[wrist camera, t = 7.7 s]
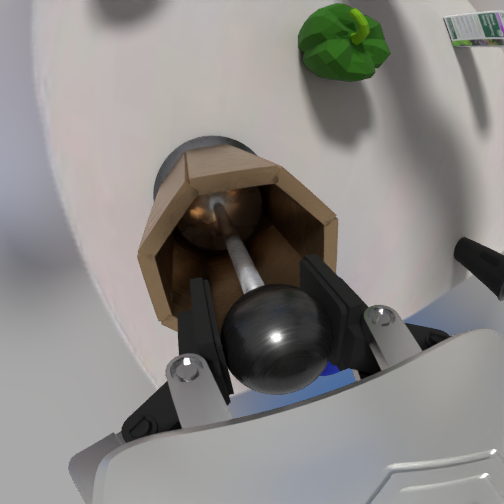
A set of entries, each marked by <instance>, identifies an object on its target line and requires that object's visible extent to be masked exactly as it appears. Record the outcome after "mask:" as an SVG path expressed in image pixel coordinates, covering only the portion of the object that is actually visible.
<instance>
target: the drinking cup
mask: <svg viewBox="0 0 504 504" xmlns="http://www.w3.org/2000/svg"><path fill="white" fill-rule="evenodd" d="M454 257H455V259H456V260H457V261H458V262H460V263H461V264H462V265H463V266H464V267H466V268H467V269H468V270H469V271H470V272H471V273H472V274H474V275H475V276H476V277H477V278H478V279H479V280H480V281H481V282H483V283H484V284H485V285H486V286H487V287H488V288H489V289H490V290H491V291H492V292H493V293H494V294H495V295H496V296H497V297H498V299H499V300H500V301H502V300H504V255H502V254H500V253H498V252H496V251H494V250H492V249H490V248H488V247H485V246H483V245H481V244H479V243H477V242H475V241H472V240H470V239H468V238H466V237H463V238H461V239H460V240H459V242H458V243H457V245H456V247H455V251H454Z"/></svg>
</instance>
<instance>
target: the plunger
mask: <svg viewBox="0 0 504 504" xmlns="http://www.w3.org/2000/svg"><path fill="white" fill-rule="evenodd" d="M261 213H262V197H261V194H260V190H259V188H258V186H252V187H246V188H239V189H233V190H227V191H221V192H215V193H209V194H204V195H198V196H196V198H195V199H194V200H193V202H192V203H191V205H190V206H189V207H188V209H187V210H186V212H185V213H184V214H183V216H182V217H181V219H180V220H179V222H178V223H177V226H178V228H179V230H180V231H181V233H182V234H183V235H184V237H185V238H186V239H188V240H189V241H190V242H191V243H193V244H195V245H197V246H199V247H201V248H205V249H210V250H222V249H227V250H228V253H229V255H230V258H231V261H232V263H233V266H234V269H235V271H236V274H237V277H238V279H239V282H240V284H241V287H242V290H243V292H244V295H242V296H241V297H240V298H239V299H238V300H237V301H236V302H235V303H234V304H233V305H232V306H231V308H230V309H229V311H228V313H227V314H226V316H225V319H224V321H223V324H222V328H221V335H220V339H221V343H222V348H223V352H224V356H225V360H226V364H227V367H228V369H229V370H230V372H231V373H232V374H233V375H234V377H235V378H236V379H237V380H239V381H240V382H241V383H242V384H244V385H245V386H247V387H248V388H250V389H252V390H255V391H257V392H260V393H264V394H272V395H282V394H288V393H292V392H295V391H298V390H301V389H302V388H305V387H306V386H308V385H309V384H311V383H312V382H313V381H314V380H316V379H317V378H318V376H320V374H321V373H322V372H323V370H324V369H325V368H326V366H327V364H328V362H329V360H330V357H331V355H332V350H333V345H334V332H333V326H332V323H331V320H330V317H329V315H328V313H327V311H326V310H325V308H324V306H323V305H322V304H321V303H320V302H319V301H318V300H317V298H315V297H314V296H313V295H311V294H310V293H309V292H307V291H305V290H303V289H301V288H299V287H296V286H293V285H288V284H280V283H277V284H268V285H264V283H263V281H262V279H261V277H260V275H259V273H258V271H257V269H256V267H255V265H254V263H253V261H252V259H251V258H250V256H249V254H248V252H247V250H246V248H245V246H244V244H243V241H244V240H245V239H247V238H248V237H249V236H250V235H251V234H252V233H253V231H254V230H255V228H256V227H257V225H258V223H259V220H260V217H261Z"/></svg>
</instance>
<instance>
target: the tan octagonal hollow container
mask: <svg viewBox="0 0 504 504" xmlns="http://www.w3.org/2000/svg"><path fill="white" fill-rule="evenodd" d="M252 186H258V188H259V190H260V194H261V197H262V213H261V217H260V220H259V223H258V225H257V227H256V228H255V230H254V231H253V233H252V234H251V235H250V236H249V237H248V238H247V239H245V240H244V241H243V244H244V246H245V248H246V250H247V252H248V254H249V256H250V258H251V259H252V261H253V263H254V265H255V267H256V269H257V271H258V273H259V275H260V277H261V279H262V281H263V283H264V285H268V284H277V283H280V284H288V285H293V286H296V287H299V288H300V266H299V263H300V260H303V257H304V256H308V255H312V254H317V255H318V256H319V257H320V258H321V259H322V260H323V261H324V262H325V263H326V264H327V265H328V266H329V267H330V268H331V269H332V271H333V272H334V273H335V274H336V262H337V238H338V219H337V218H336V214H335V213H334V212H333V211H331V210H330V209H329V208H328V207H327V206H326V205H325V204H324V203H323V202H322V201H321V200H320V199H318V198H317V197H316V196H315V195H314V194H313V193H312V192H311V191H310V190H308V189H307V188H306V187H305V186H304V185H303V184H302V183H301V182H299V181H298V180H297V179H296V178H295V177H294V176H292V175H291V174H290V173H289V172H288V171H287V170H285V169H284V168H283V167H282V166H279V165H277V164H275V163H272V162H270V161H268V160H266V159H263V158H261V157H258V156H257V155H256V154H255V153H254V152H253V151H252V150H251V149H250V148H248V147H247V146H246V145H244V144H242V143H240V142H238V141H236V140H233V139H230V138H227V137H222V136H203V137H198V138H195V139H192V140H189V141H187V142H185V143H184V144H182V145H180V146H179V147H178V148H176V149H175V150H174V151H173V152H172V153H171V154H170V155H169V156H168V157H167V158H166V160H165V161H164V163H163V164H162V166H161V168H160V170H159V172H158V174H157V177H156V181H155V185H154V204H153V207H152V210H151V213H150V215H149V218H148V221H147V224H146V227H145V230H144V234H143V237H142V240H141V243H140V246H139V250H138V255H137V258H138V261H139V264H140V267H141V271H142V274H143V277H144V280H145V283H146V286H147V289H148V292H149V295H150V298H151V301H152V304H153V307H154V310H155V312H156V315H157V318H158V321H161V324H162V325H164V326H166V327H168V328H170V329H173V330H175V331H177V332H178V322H177V314H178V313H180V312H185V311H190V310H192V302H191V291H190V279H195V278H200V277H202V278H203V280H207V279H208V283H209V288H210V292H211V297H212V302H213V306H214V311H215V315H216V320H217V324H218V328H219V333H220V335H221V328H222V324H223V321H224V319H225V316H226V314H227V313H228V311H229V309H230V308H231V306H232V305H233V304H234V303H235V302H236V301H237V300H238V299H239V298H240V297H241V296H242V295H244V292H243V290H242V287H241V284H240V282H239V279H238V277H237V274H236V271H235V269H234V266H233V263H232V261H231V258H230V255H229V253H228V250H227V249H222V250H210V249H205V248H201V247H199V246H197V245H195V244H193V243H191V242H190V241H189V240H188V239H186V238H185V237H184V235H183V234H182V233H181V231H180V230H179V228H178V226H177V223H178V222H179V220H180V219H181V217H182V216H183V214H184V213H185V212H186V210H187V209H188V207H189V206H190V205H191V203H192V202H193V200H194V199H195V198H196V196H198V195H204V194H209V193H215V192H221V191H227V190H233V189H239V188H246V187H252Z"/></svg>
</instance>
